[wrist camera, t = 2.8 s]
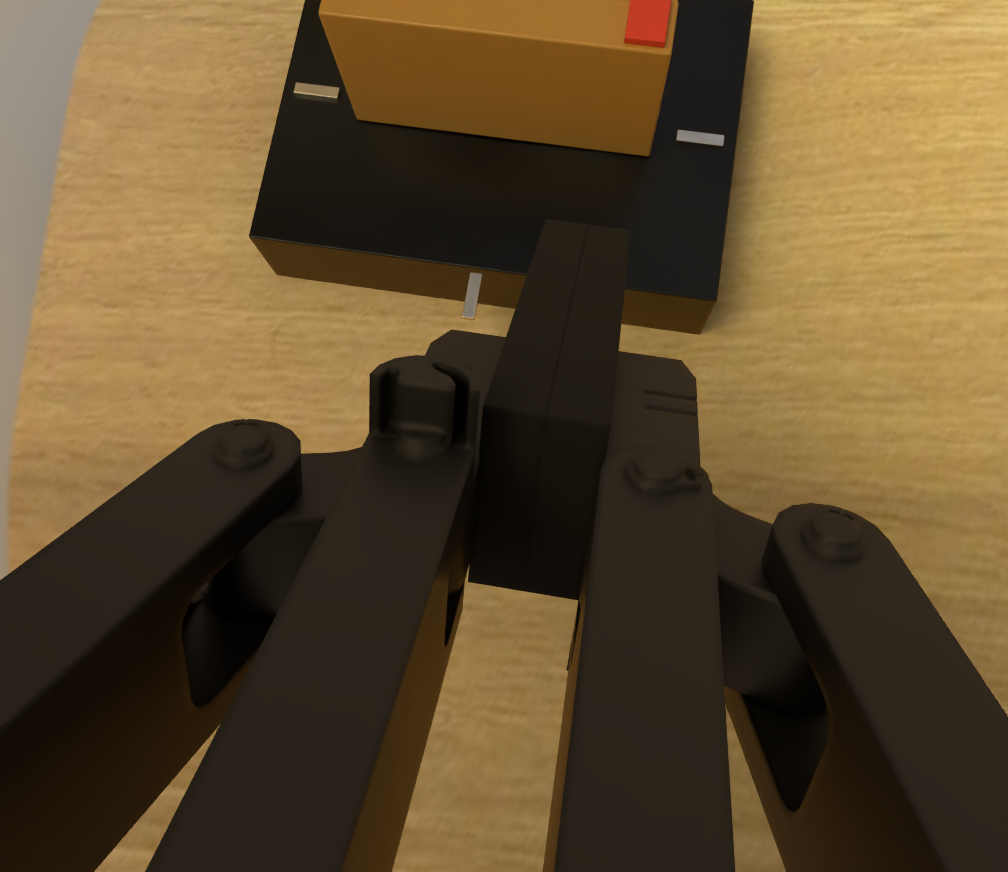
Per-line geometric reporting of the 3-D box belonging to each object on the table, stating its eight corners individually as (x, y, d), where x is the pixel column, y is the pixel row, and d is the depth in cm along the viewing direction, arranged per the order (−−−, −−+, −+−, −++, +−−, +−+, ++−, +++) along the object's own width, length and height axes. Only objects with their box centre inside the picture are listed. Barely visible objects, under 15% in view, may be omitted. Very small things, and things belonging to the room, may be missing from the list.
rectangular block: (356, 120, 28) (314, 6, 23) (366, 74, 29) (327, -48, 24) (649, 157, 28) (672, 48, 23) (656, 110, 28) (681, -9, 23)
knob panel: (266, 320, 30) (234, 284, 27) (345, -27, 33) (325, -96, 30) (694, 382, 29) (711, 352, 26) (740, 17, 32) (760, -49, 29)
